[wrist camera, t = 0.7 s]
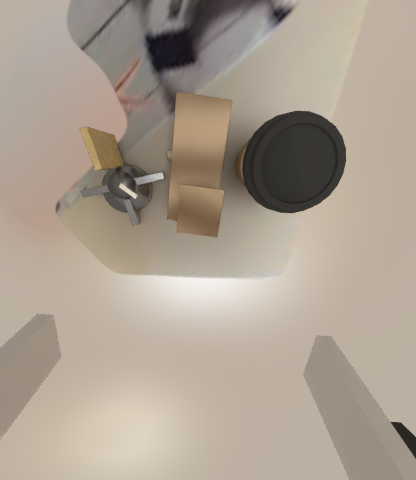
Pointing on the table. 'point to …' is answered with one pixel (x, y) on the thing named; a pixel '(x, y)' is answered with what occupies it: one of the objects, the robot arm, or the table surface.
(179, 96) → the wooden drawer box
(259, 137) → the coffee cup
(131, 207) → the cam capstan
